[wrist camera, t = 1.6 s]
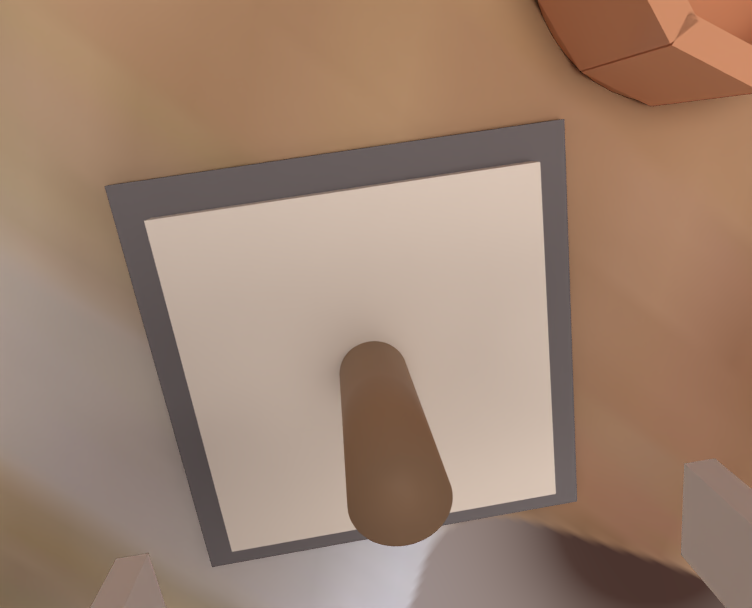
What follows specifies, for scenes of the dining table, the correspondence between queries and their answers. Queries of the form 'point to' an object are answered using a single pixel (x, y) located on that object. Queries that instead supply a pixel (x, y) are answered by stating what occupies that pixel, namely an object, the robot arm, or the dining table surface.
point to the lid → (366, 353)
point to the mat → (332, 174)
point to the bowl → (657, 46)
